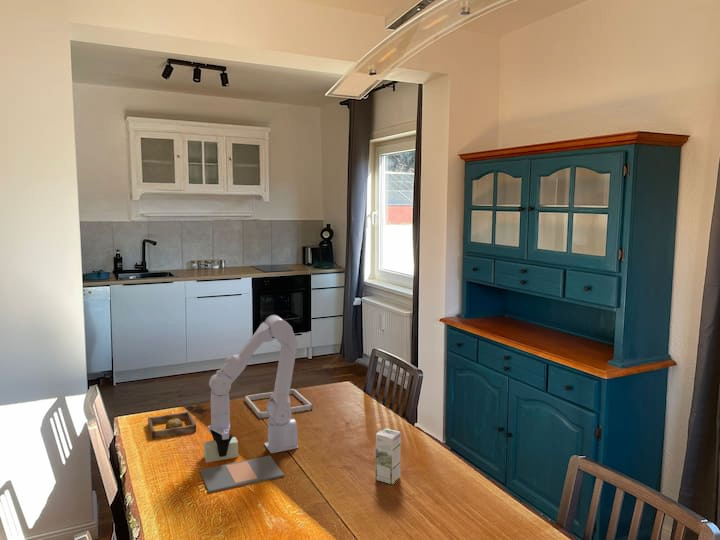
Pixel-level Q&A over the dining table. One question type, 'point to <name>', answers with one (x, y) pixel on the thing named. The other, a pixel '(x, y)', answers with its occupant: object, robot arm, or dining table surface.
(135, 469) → the dining table surface
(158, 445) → the dining table surface
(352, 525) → the dining table surface
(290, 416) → the robot arm
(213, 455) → the block
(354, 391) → the dining table surface
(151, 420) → the fruit rim
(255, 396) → the box rim
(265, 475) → the mat
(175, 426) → the fruit
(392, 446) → the syrup box
